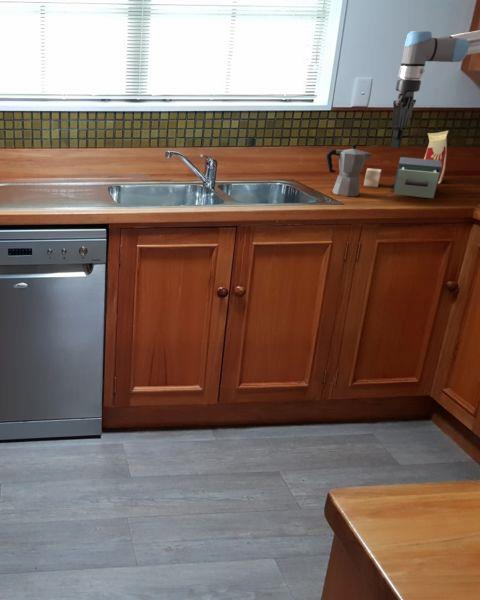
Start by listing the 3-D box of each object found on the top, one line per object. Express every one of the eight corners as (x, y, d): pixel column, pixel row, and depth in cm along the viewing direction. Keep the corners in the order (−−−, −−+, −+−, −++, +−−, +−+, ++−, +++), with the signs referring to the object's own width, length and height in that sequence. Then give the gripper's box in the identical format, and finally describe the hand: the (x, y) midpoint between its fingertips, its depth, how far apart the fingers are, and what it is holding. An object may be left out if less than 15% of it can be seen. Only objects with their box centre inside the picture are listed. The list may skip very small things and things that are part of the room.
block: (378, 184, 238) (381, 169, 236) (377, 187, 234) (380, 171, 232) (364, 183, 240) (367, 168, 238) (363, 185, 236) (366, 170, 234)
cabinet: (434, 197, 220) (441, 167, 215) (392, 192, 226) (398, 163, 221) (434, 188, 233) (441, 160, 228) (394, 184, 238) (400, 157, 234)
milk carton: (442, 180, 249) (454, 129, 241) (440, 183, 241) (453, 132, 234) (417, 177, 253) (429, 127, 245) (415, 181, 246) (426, 130, 238)
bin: (433, 202, 208) (439, 176, 205) (392, 197, 214) (398, 172, 210) (433, 190, 225) (439, 166, 222) (395, 186, 231) (400, 163, 227)
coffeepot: (362, 192, 225) (372, 142, 218) (367, 197, 217) (377, 146, 210) (318, 189, 229) (327, 140, 222) (321, 194, 220) (330, 144, 213)
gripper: (412, 80, 206) (397, 150, 215) (428, 79, 214) (413, 147, 223) (390, 79, 212) (376, 148, 221) (406, 78, 219) (392, 144, 228)
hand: (394, 147), depth 222 cm, fingers closed
